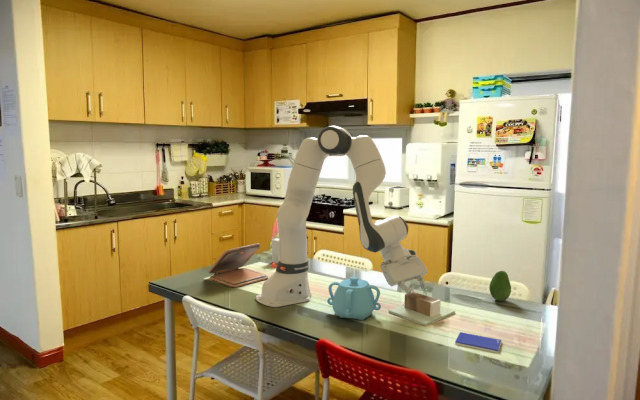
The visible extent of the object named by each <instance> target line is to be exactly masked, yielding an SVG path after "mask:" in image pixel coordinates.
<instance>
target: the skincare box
mask: <svg viewBox="0 0 640 400" xmlns="http://www.w3.org/2000/svg"><path fill="white" fill-rule="evenodd" d="M271 254H272V255H271V258H272V259H271V260H272V263H275V264H277V265H278V262H279V260H280V242H279V237H278V238H277V237H276V238H272V239H271Z"/></svg>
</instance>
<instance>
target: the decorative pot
mask: <svg viewBox="0 0 640 400" xmlns="http://www.w3.org/2000/svg"><path fill="white" fill-rule="evenodd" d="M333 286H337V288H336V289H335V292H334V293H333V289H332V287H333ZM373 290H375V291H376V296H375V295H374V292H373ZM328 293H329V296H330V297H328V298H327V304H328V305H329V306H332V310H333V311H334V314H335V315H336V316H338V317H339V318H341V319H345V318H346V319H353V320H358V321H364V320H365V319H366V318H368V317H369V316H371V314H372V313H373V312H374V310H375V311H379V310H381V308H382V305H381V303H380V302H378V301H379V299H380V296H381V290H380V289H379V287H378V286H376V285H370V283H369V282H368V280H366V279H361V278H359V277H357V276H351V277H349V278H345V279H343V280H342V281H340V282H339V281H334V282H331V283H330V284H329V286H328Z"/></svg>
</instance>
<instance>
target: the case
mask: <svg viewBox="0 0 640 400" xmlns="http://www.w3.org/2000/svg"><path fill="white" fill-rule="evenodd" d="M260 247H261V243H258V242H257V243H252V244H248V245H243V246H242V245H241V246H240V247H234V248H231V249H230V248H229V249H227V250H225V251H224V252H223V253H221V255H220V256H219V257H218V259H217V260H216V261H215V262H214V264H213V265H212V266H211V267H210V269H209V270H208V274H209V275H210V274H212V275H211V276H209V279H210V280H212V281H214V282H218V283H220V284H222V285H225V286H227V287H230V288H238V287H240V288H241V287H243V286H247V285H251V284H254V283H258V282H262V281H266V280H267V279H268V278H269V276H268V275H267V274H264V273H261V272H258V271H255V270H252V269H249V268H246V267H245V268H244V267H243V266H245V265H246V264H247V263H248V262H249V260H250V259H251V258H252V257H253V256H254V255H255V253H256V252H257V251H258V250H259V248H260ZM241 267H242V268H241Z"/></svg>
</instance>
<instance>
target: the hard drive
mask: <svg viewBox="0 0 640 400" xmlns="http://www.w3.org/2000/svg"><path fill="white" fill-rule="evenodd" d="M454 345H456V346H463V347H466V348H472V349H475V350H481V351H486V352H490V353H495V354H499V353H500V348H501V345H502V339H498V338H493V337H487V336H483V335H478V334H472V333H467V332H461V331H460V332H459V334H458V335H457V338H456V339H455V343H454Z"/></svg>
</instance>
